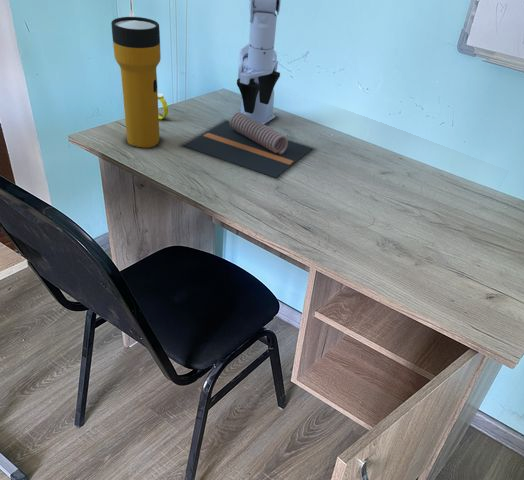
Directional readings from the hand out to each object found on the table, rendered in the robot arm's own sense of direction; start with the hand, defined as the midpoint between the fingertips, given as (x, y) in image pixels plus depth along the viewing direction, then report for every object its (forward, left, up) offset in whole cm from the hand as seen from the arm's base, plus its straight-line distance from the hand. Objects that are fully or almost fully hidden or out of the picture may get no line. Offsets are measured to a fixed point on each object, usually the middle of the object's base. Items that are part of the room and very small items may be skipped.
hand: (256, 107), depth 130 cm
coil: (-1, +1, -9) cm, 9 cm away
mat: (+3, +1, -9) cm, 9 cm away
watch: (+3, -27, -9) cm, 29 cm away
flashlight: (+17, -21, -9) cm, 29 cm away
